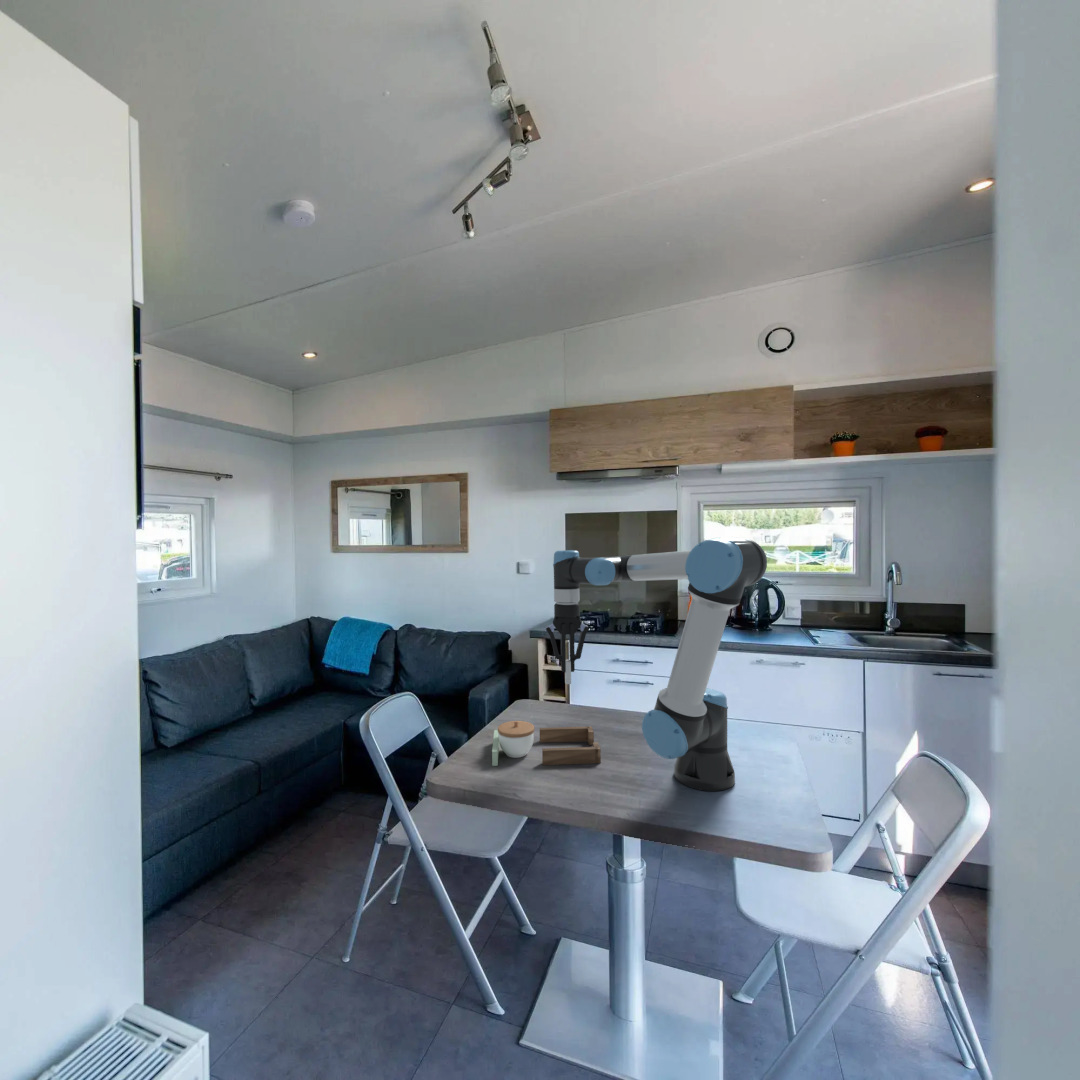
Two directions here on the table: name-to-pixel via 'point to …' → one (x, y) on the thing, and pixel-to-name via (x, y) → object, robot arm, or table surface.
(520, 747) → the lidded jar
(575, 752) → the cradle
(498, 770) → the table surface
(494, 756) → the rail
